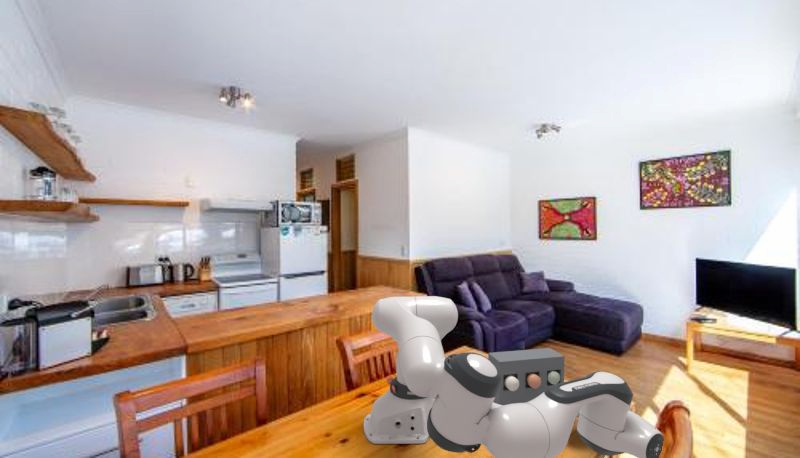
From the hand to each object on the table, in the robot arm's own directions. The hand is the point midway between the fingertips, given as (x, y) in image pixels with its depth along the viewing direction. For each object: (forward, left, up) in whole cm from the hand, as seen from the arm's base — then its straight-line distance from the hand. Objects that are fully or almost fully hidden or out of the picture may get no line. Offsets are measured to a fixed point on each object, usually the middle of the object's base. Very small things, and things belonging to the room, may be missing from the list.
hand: (569, 389), depth 110 cm
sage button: (0, +9, -2) cm, 9 cm away
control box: (-8, +12, -9) cm, 17 cm away
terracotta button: (-8, +7, -2) cm, 11 cm away
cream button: (-16, +7, -2) cm, 18 cm away
